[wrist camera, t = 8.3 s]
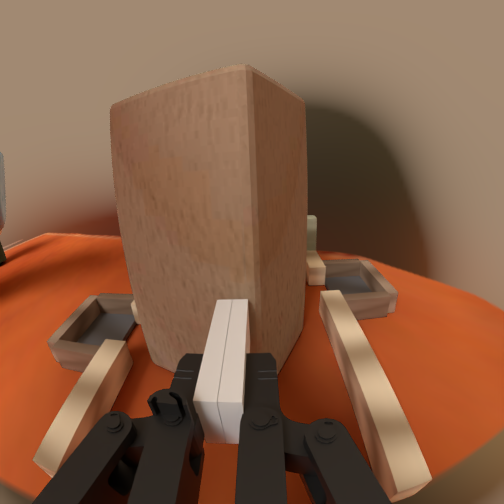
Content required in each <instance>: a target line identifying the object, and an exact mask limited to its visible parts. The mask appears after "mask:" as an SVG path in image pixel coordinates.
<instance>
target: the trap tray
mask: <svg viewBox="0 0 504 504" xmlns="http://www.w3.org/2000/svg"><path fill="white" fill-rule="evenodd" d="M316 230H317V218H316V217H315V216H314V215H307V255H306V279H307V282H308V285H309V286H313V285H325V287H326V289H327V291H320V304H319V313H320V316H321V318H322V321H323V324H324V326H325V329H326V332H327V335H328V337H329V340H330V343H331V346H332V348H333V351H334V354H335V357H336V360H337V362H338V365H339V368H340V371H341V374H342V377H343V380H344V383H345V385H346V388H347V391H348V394H349V397H350V400H351V403H352V406H353V410H354V413H355V416H356V419H357V422H358V425H359V428H360V431H361V435H362V438H363V441H364V444H365V448H366V451H367V454H368V458H369V461H370V465H371V468H372V472H373V474H374V475H375V477H376V479H377V480H378V482H379V484H380V485H381V487H382V488H383V490H384V492H385V493H386V495H387V497H388V498H389V500H390V501H391V503H393V502H396V501H399V500H402V499H405V498H407V497H410V496H413V495H414V494H416V493H417V492H418V491H419V490H420V489H422V488H423V487H424V486H425V485H426V484H427V483H429V482H430V481H431V480H432V477H431V474H430V472H429V469H428V467H427V464H426V462H425V460H424V457H423V455H422V452H421V450H420V448H419V445H418V443H417V441H416V438H415V436H414V434H413V432H412V429H411V427H410V425H409V423H408V421H407V418H406V416H405V414H404V412H403V410H402V408H401V406H400V404H399V401H398V399H397V397H396V395H395V393H394V391H393V389H392V387H391V385H390V383H389V381H388V379H387V377H386V375H385V373H384V371H383V369H382V367H381V365H380V363H379V361H378V359H377V357H376V355H375V354H374V352H373V350H372V348H371V346H370V344H369V342H368V340H367V338H366V337H365V335H364V333H363V331H362V329H361V327H360V326H359V324H358V322H357V320H361V319H370V318H379V317H387V313H393V312H394V311H395V306H396V301H397V297H398V292H397V290H396V289H395V288H394V287H393V286H392V285H391V284H390V283H389V282H388V281H387V280H386V279H385V278H384V277H383V275H382V274H381V273H380V272H379V271H378V270H377V269H376V268H375V267H374V266H373V265H372V264H371V263H370V262H369V261H368V260H359V259H342V260H321V258H320V256H319V255H318V253H317V252H316ZM136 324H141V323H140V319H139V316H138V312H137V308H136V304H135V300H134V296H133V294H110V293H100V294H99V296H94V295H90V296H89V297H88V298H87V299H86V300H85V301H84V302H83V303H82V304H81V305H80V306H79V307H78V308H77V309H76V310H75V311H74V312H73V313H72V315H71V316H70V317H69V318H68V319H67V320H66V321H65V322H64V323H63V324H62V325H61V326H60V327H59V328H58V329H57V331H56V332H55V333H54V334H53V335H52V336H51V337H50V338H49V339H48V341H47V343H48V345H49V347H50V349H51V352H52V354H53V356H54V358H55V360H56V362H60V364H61V366H62V368H66V369H70V370H74V371H79V372H83V374H82V375H81V377H80V378H79V380H78V382H77V383H76V385H75V386H74V388H73V390H72V391H71V393H70V394H69V396H68V398H67V399H66V401H65V403H64V404H63V406H62V408H61V409H60V411H59V413H58V414H57V416H56V418H55V419H54V421H53V423H52V425H51V426H50V428H49V430H48V432H47V434H46V435H45V437H44V439H43V441H42V443H41V444H40V446H39V448H38V450H37V452H36V454H35V456H34V458H33V461H34V462H35V463H36V464H37V465H38V466H39V467H40V468H41V469H43V470H44V471H45V472H46V473H47V474H48V475H49V476H51V477H52V478H53V476H54V475H55V474H56V473H57V471H58V470H59V469H60V468H61V466H62V465H63V464H64V463H65V461H66V460H67V459H68V458H69V456H70V455H71V454H72V453H73V451H74V450H75V449H76V448H77V446H78V445H79V444H80V443H81V441H82V440H83V439H84V438H85V437H86V435H87V434H88V433H89V432H90V430H91V429H92V428H93V427H94V425H95V424H96V423H97V422H98V421H99V419H100V418H101V417H102V416H103V415H105V414H106V413H109V412H110V410H111V408H112V406H113V404H114V402H115V400H116V397H117V395H118V393H119V391H120V389H121V387H122V385H123V383H124V381H125V379H126V377H127V375H128V373H129V371H130V369H131V367H132V365H133V360H132V357H131V355H130V352H129V349H128V346H127V343H126V340H127V338H128V336H129V335H130V333H131V331H132V330H133V328H134V327H135V325H136Z"/></svg>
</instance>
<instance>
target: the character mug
mask: <svg viewBox="0 0 504 504" xmlns="http://www.w3.org/2000/svg"><path fill="white" fill-rule="evenodd" d="M1 232H2V231H0V235H1ZM3 261H6V256H5V253H4V250H3V248H2V245H1V242H0V265H1V262H3Z"/></svg>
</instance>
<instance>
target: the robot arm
mask: <svg viewBox="0 0 504 504" xmlns="http://www.w3.org/2000/svg"><path fill="white" fill-rule="evenodd" d="M4 174H5V173H4V159H3V154H2V153H1V152H0V231H1V230H2V228H3V227H4V224H5V219H6V200H5V176H4ZM147 402H148V404H149V406H150V409H151V411H152V413H153V415H152V416H149V417H144V418H135V419H130V417H129V416H128V415H127V414H125V413H124V412H120V411H111V412H109V413H106V414H105V415H103V416H102V417H101V418H100V419H99V421H98V422H97V423H96V424H95V425H94V427H93V428H92V429H91V430H90V432H89V433H88V434H87V435H86V437H85V438H84V439H83V440H82V441H81V443H80V444H79V445H78V446H77V448H76V449H75V450H74V451H73V453H72V454H71V455H70V456H69V458H68V459H67V460H66V461H65V463H64V464H63V465H62V466H61V468H60V469H59V470H58V471H57V473H56V474H55V475H54V476H53V478H52V479H51V480H50V481H49V483H48V484H47V485H46V487H45V488H44V489H43V490H42V492H41V493H40V494H39V495H38V497H37V498H36V499H35V501H34V502H33V503H32V504H198V499H199V491H200V484H201V477H202V470H203V462H204V455H205V454H204V448H203V441H204V438H205V441H206V442H207V443H224V444H226V443H227V444H239V446H238V462H237V478H236V494H235V504H287V491H286V474H285V471H289V472H294V473H299V474H300V477H301V479H302V482H303V484H304V486H305V489H306V491H307V493H308V496H309V498H310V500H311V502H312V504H392V503H391V501H390V500H389V498H388V497H387V495H386V493H385V492H384V490H383V488H382V487H381V485H380V484H379V482H378V480H377V479H376V477H375V475H374V474H373V472H372V471H371V469H370V467H369V466H368V464H367V462H366V461H365V459H364V457H363V456H362V454H361V453H360V451H359V449H358V448H357V446H356V444H355V443H354V441H353V439H352V438H351V436H350V434H349V433H348V431H347V429H346V428H345V427H344V426H343V424H342V423H341V422H338V421H336V420H334V419H328V418H325V419H318V420H316V421H314V422H312V423H311V424H310V425H309V424H303V423H298V422H295V421H292V420H290V419H288V418H287V417H286V416H284V415H283V413H282V412H281V409H280V403H279V391H278V379H277V366H276V360H275V358H274V357H273V356H272V354H271V353H250V329H249V311H248V299H233V300H232V299H227V300H217V302H216V306H215V310H214V314H213V318H212V322H211V326H210V330H209V334H208V338H207V343H206V347H205V351H204V354H194V353H186V354H185V355H184V356H183V357H182V358H181V359H180V360H179V362H178V365H177V368H176V371H175V374H174V378H173V380H172V384H171V387H170V389H162V390H159V391H156V392H155V393H153V394H152V395H151V396H150V397H149V399H148V400H147Z"/></svg>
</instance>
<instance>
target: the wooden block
mask: <svg viewBox="0 0 504 504" xmlns="http://www.w3.org/2000/svg"><path fill="white" fill-rule="evenodd" d="M110 131H111V132H110V134H111V153H112V167H113V178H114V188H115V197H116V205H117V212H118V219H119V225H120V232H121V238H122V244H123V249H124V255H125V260H126V265H127V270H128V274H129V279H130V283H131V288H132V292H133V296H134V300H135V304H136V308H137V312H138V316H139V319H140V323H141V327H142V330H143V334H144V337H145V340H146V344H147V347H148V350H149V353H150V356H151V359H152V361H153V362H154V363H155V364H156V365H158V366H160V367H162V368H165V369H167V370H169V371H171V372H173V373H175V371H176V368H177V365H178V362H179V360H180V359H181V358H182V357H183V356H184V355H185V354H186V353H194V354H204V351H205V347H206V343H207V338H208V334H209V330H210V326H211V322H212V318H213V314H214V310H215V306H216V302H217V300H227V299H232V300H233V299H248V311H249V329H250V353H271V354H272V356H273V357H274V358H275V360H276V366H277V375H278V373H279V372H280V370H281V368H282V366H283V365H284V363H285V361H286V359H287V357H288V356H289V354H290V352H291V350H292V348H293V346H294V345H295V343H296V341H297V339H298V337H299V335H300V333H301V331H302V329H303V320H304V303H305V282H306V255H307V145H306V117H305V103H304V101H303V99H302V98H300V97H299V96H297V95H296V94H294V93H293V92H292V91H290V90H289V89H287V88H285V87H284V86H282V85H281V84H279V83H278V82H276V81H275V80H273V79H271V78H270V77H268V76H267V75H265V74H263V73H262V72H260V71H258V70H257V69H255V68H253V67H251V66H250V65H246V64H238V65H233V66H228V67H224V68H219V69H215V70H211V71H208V72H203V73H200V74H196V75H192V76H189V77H186V78H183V79H179V80H176V81H173V82H170V83H167V84H164V85H161V86H158V87H155V88H152V89H150V90H147V91H144V92H142V93H139V94H136V95H134V96H132V97H129V98H127V99H124V100H122V101H120V102H117V103H115V104H113V105H112V106H111V109H110Z"/></svg>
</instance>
